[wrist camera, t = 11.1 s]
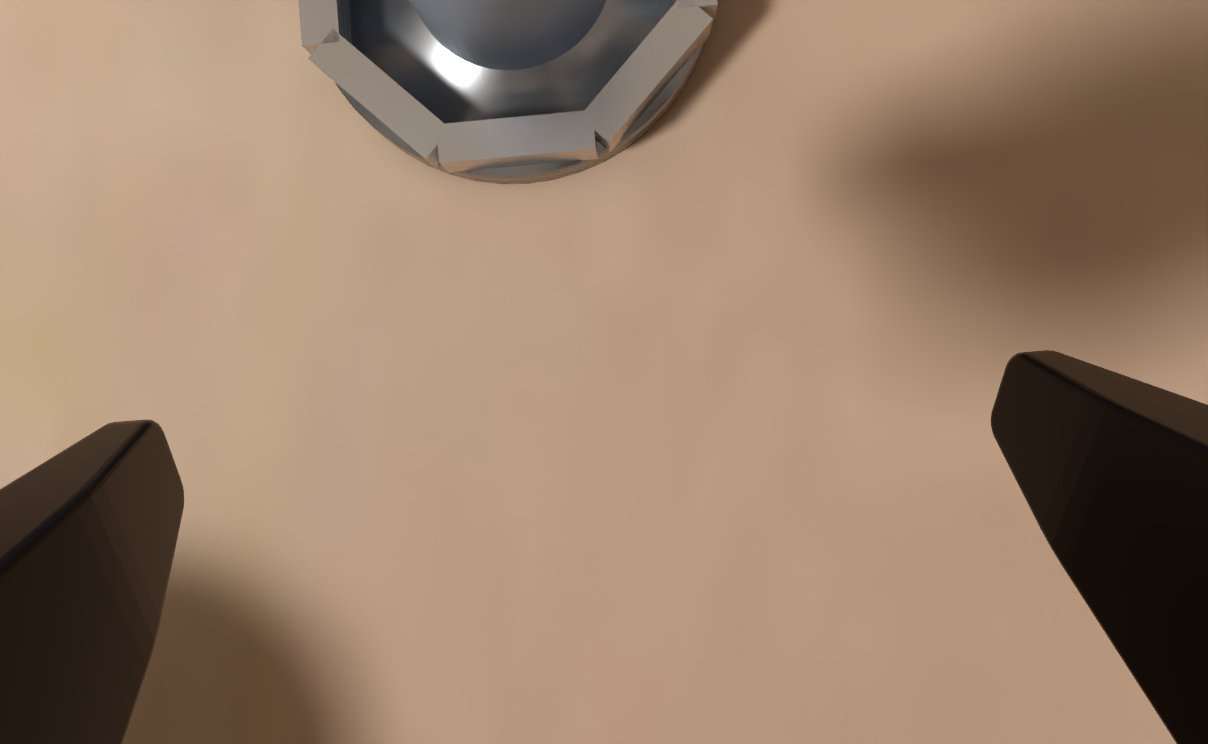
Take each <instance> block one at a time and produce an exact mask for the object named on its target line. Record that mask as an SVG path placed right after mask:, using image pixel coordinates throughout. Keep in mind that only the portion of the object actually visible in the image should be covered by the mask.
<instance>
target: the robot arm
mask: <svg viewBox="0 0 1208 744" xmlns="http://www.w3.org/2000/svg"><path fill="white" fill-rule="evenodd" d="M991 427H992V431H993V434H994V437H995V439H996V441H997V443H998V445H999V447H1000V449H1001V451H1002V453H1003V455H1004V457H1005V459H1006V461H1007V463H1008V465H1009V467H1010V469H1011V471H1012V473H1013V475H1014V477H1015V479H1016V481H1017V483H1018V485H1019V487H1020V489H1021V491H1022V493H1023V495H1024V497H1025V498H1026V500H1027V502H1028V504H1029V506H1030V508H1031V510H1032V512H1033V514H1034V516H1035V518H1036V520H1037V522H1038V524H1039V526H1040V528H1041V530H1042V532H1043V534H1044V536H1045V537H1046V539H1047V541H1048V543H1049V545H1050V547H1051V548H1052V550H1053V552H1054V553H1055V555H1056V556H1057V558H1058V560H1059V561H1060V563H1061V565H1062V566H1063V568H1064V569H1065V571H1066V572H1067V574H1068V576H1069V577H1070V579H1071V580H1072V582H1073V583H1074V585H1075V586H1076V588H1077V590H1078V591H1079V593H1080V594H1081V596H1082V597H1083V599H1084V600H1085V602H1086V604H1087V605H1088V607H1089V608H1090V610H1091V611H1092V613H1093V614H1094V616H1095V617H1096V619H1097V621H1098V622H1099V624H1100V625H1101V627H1102V628H1103V630H1104V631H1105V633H1106V635H1107V636H1108V638H1109V639H1110V641H1111V642H1112V644H1113V645H1114V647H1115V649H1116V650H1117V652H1118V653H1119V655H1120V656H1121V658H1122V659H1123V661H1124V663H1125V664H1126V666H1127V667H1128V669H1129V670H1130V672H1131V673H1132V675H1133V676H1134V678H1135V680H1136V681H1137V683H1138V684H1139V686H1140V687H1141V689H1142V690H1143V692H1144V694H1145V695H1146V697H1147V698H1148V700H1149V701H1150V703H1151V704H1152V706H1153V708H1154V709H1155V711H1156V712H1157V714H1158V715H1159V717H1160V718H1161V720H1162V721H1163V723H1164V725H1165V726H1166V728H1167V729H1168V731H1169V732H1170V734H1171V735H1172V737H1173V739H1174V740H1175V742H1176V743H1177V744H1208V405H1206V404H1204V403H1201V402H1198V401H1195V400H1192V399H1189V398H1187V397H1184V396H1181V395H1178V394H1175V393H1172V392H1170V391H1167V390H1164V389H1161V388H1158V387H1155V386H1152V385H1150V384H1147V383H1144V382H1141V381H1138V380H1135V379H1133V378H1130V377H1127V376H1124V375H1121V374H1118V373H1116V372H1113V371H1110V370H1107V369H1104V368H1101V367H1098V366H1096V365H1093V364H1090V363H1087V362H1084V361H1081V360H1079V359H1076V358H1073V357H1070V356H1067V355H1064V354H1062V353H1059V352H1055V351H1048V350H1045V351H1033V352H1022V353H1018V354H1016V355H1014V356H1013V357H1012V358H1011V359H1010V360H1009V361H1008V363H1007V366H1006V368H1005V372H1004V375H1003V378H1002V381H1001V384H1000V388H999V391H998V394H997V397H996V400H995V403H994V407H993V410H992V414H991ZM183 508H184V490H183V485H182V481H181V479H180V476H179V473H178V470H177V468H176V465H175V462H174V459H173V456H172V454H171V451H170V448H169V445H168V442H167V440H166V437H165V434H164V432H163V430H162V428H161V427H160V426H159V424H158V423H156V422H154V421H152V420H135V421H122V422H113V423H109V424H107V425H105V426H103V427H101V428H100V429H98V430H97V431H95V432H93V433H92V434H90V435H88V436H87V437H85V438H83V439H82V440H80V441H79V442H77V443H75V444H74V445H72V446H70V447H69V448H67V449H66V450H64V451H62V452H61V453H59V454H57V455H56V456H54V457H52V458H51V459H49V460H48V461H46V462H44V463H43V464H41V465H39V466H38V467H36V468H35V469H33V470H31V471H30V472H28V473H26V474H25V475H23V476H21V477H20V478H18V479H17V480H15V481H13V482H12V483H10V484H8V485H7V486H5V487H3V488H2V489H0V744H122V742H123V739H124V736H125V733H126V730H127V727H128V724H129V721H130V718H131V715H132V712H133V709H134V706H135V703H136V700H137V697H138V694H139V691H140V688H141V685H142V683H143V680H144V677H145V674H146V671H147V668H148V665H149V661H150V658H151V655H152V651H153V648H154V645H155V642H156V637H157V633H158V629H159V625H160V620H161V616H162V611H163V606H164V601H165V596H166V591H167V586H168V581H169V577H170V572H171V567H172V562H173V557H174V552H175V547H176V542H177V537H178V533H179V528H180V523H181V518H182V513H183Z"/></svg>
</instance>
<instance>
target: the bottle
mask: <svg viewBox="0 0 1208 744" xmlns="http://www.w3.org/2000/svg"><path fill="white" fill-rule="evenodd" d="M409 2H410V3H411V5H412V6H413V8H414V9H415V11H416V12H417V14H418V15H419V17H420V18H421V20H422V21H423V23H424V25H425V26H426V27H427V29H428V30H429V31H430V33H431V34H432V35H433V37H434V38H435V39H436V40H437V41H438V42H439V43H440V44H441V45H442V46H444V47H445V48H446V49H447V50H449V51H450V52H451V53H453V54H454V55H456V56H458V57H459V58H461V59H463V60H465V61H467V62H470V63H472V64H474V65H477V66H481V67H485V68H488V69H496V70H521V69H528V68H532V67H536V66H539V65H542V64H545V63H547V62H550V61H552V60H554V59H556V58H558V57H559V56H561V55H563V54H565V53H566V52H567V51H569V50H570V49H571V48H573V47H574V46H575V45H576V44H577V43H578V42H579V41H580V40H581V39H582V38H583V37H584V36H585V35H586V34H587V33H588V32H589V30H590V29H591V28H592V26H593V25H594V24H595V22H596V20H597V19H598V17H599V15H600V14H601V12H602V9H603V7H604V5H605V2H606V0H409Z"/></svg>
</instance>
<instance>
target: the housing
mask: <svg viewBox="0 0 1208 744" xmlns="http://www.w3.org/2000/svg"><path fill="white" fill-rule="evenodd" d="M717 6H718V2H717V0H606V2H605V5H604V7H603V9H602V12H601V14H600V15H599V17H598V19H597V20H596V22H595V24H594V25H593V26H592V28H591V29H590V30H589V32H588V33H587V34H586V35H585V36H584V37H583V38H582V39H581V40H580V41H579V42H578V43H577V44H576V45H575V46H574V47H573V48H571V49H570V50H569V51H567V52H566V53H565V54H563V55H561V56H559V57H558V58H556V59H554V60H552V61H550V62H547V63H545V64H542V65H539V66H536V67H532V68H528V69H521V70H496V69H488V68H485V67H481V66H477V65H474V64H472V63H470V62H467V61H465V60H463V59H461V58H459V57H458V56H456V55H454V54H453V53H451V52H450V51H449V50H447V49H446V48H445V47H444V46H442V45H441V44H440V43H439V42H438V41H437V40H436V39H435V38H434V37H433V35H432V34H431V33H430V31H429V30H428V29H427V27H426V26H425V25H424V23H423V21H422V20H421V18H420V17H419V15H418V14H417V12H416V11H415V9H414V8H413V6H412V5H411V3H410V2H409V0H299V13H300V26H301V40H302V46H303V47H304V48H305V49H306V50H307V51H308V52H309V53H310V54H311V56H310V57H309V58H308V59H310V60H311V61H312V62H313V63H314V64H315V65H316V66H317V67H318V68H319V69H321V70H322V71H323V72H324V73H325V74H326V75H327V76H328V77H330V78H331V79H332V80H333V81H334V82H335V83H336V85H337V87H338V88H339V89H340V91H341V92H342V93H343V95H344V96H345V97H346V98H347V100H348V101H349V102H350V104H351V105H352V106H353V107H354V109H355V110H356V111H357V112H358V113H359V114H360V115H362V116H363V117H364V118H365V119H366V120H367V121H368V122H369V123H370V124H371V125H372V126H373V127H374V128H375V129H376V130H377V131H378V132H379V133H381V134H382V135H383V136H384V137H385V138H386V139H388V140H389V141H390V142H392V143H393V144H394V145H396V146H397V147H398V148H400V149H401V150H403V151H404V152H405V153H407V154H409V155H410V156H412V157H414V158H416V159H417V160H419V161H421V162H423V163H425V164H426V165H428V166H431V167H433V168H436V169H438V170H441V171H443V172H446V173H448V174H451V175H454V176H458V177H462V178H467V179H471V180H475V181H480V182H489V183H499V184H525V183H535V182H541V181H548V180H554V179H558V178H561V177H565V176H568V175H572V174H575V173H578V172H581V171H583V170H586V169H588V168H590V167H593V166H595V165H597V164H599V163H602V162H604V161H606V160H607V159H609V158H611V157H612V156H614V155H615V154H617V153H619V152H620V151H622V150H624V149H625V148H627V147H628V146H629V145H631V144H632V143H633V142H635V141H636V140H637V139H638V138H640V137H641V136H642V135H643V134H645V133H646V132H647V131H648V130H649V129H650V128H651V127H652V126H653V125H654V124H655V123H656V122H657V121H658V120H659V119H660V118H661V117H662V116H663V115H664V114H665V112H666V111H667V110H668V109H669V107H670V106H671V105H672V103H673V102H674V101H675V99H676V98H677V97H678V95H679V94H680V93H681V91H682V90H683V88H684V86H685V84H686V83H687V81H688V79H689V77H690V75H691V74H692V72H693V70H694V68H695V66H696V64H697V61H698V59H699V56H700V54H701V51H702V49H703V46H704V44H705V41H706V39H707V38H708V37H709V35H710V32H711V27H712V22H714V21H715V16H716V11H717Z"/></svg>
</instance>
